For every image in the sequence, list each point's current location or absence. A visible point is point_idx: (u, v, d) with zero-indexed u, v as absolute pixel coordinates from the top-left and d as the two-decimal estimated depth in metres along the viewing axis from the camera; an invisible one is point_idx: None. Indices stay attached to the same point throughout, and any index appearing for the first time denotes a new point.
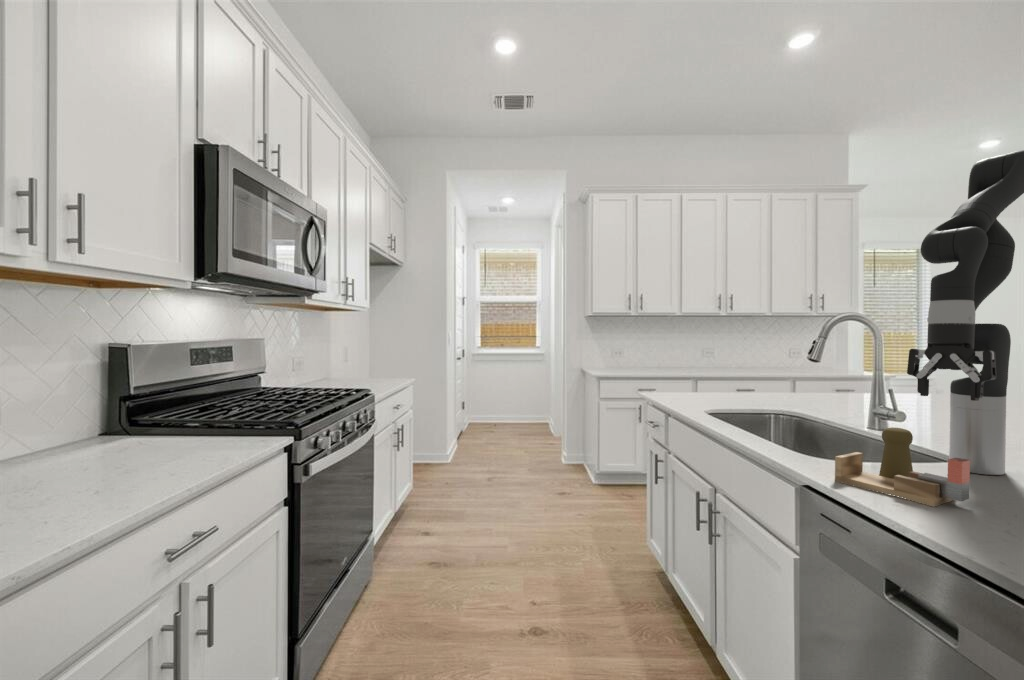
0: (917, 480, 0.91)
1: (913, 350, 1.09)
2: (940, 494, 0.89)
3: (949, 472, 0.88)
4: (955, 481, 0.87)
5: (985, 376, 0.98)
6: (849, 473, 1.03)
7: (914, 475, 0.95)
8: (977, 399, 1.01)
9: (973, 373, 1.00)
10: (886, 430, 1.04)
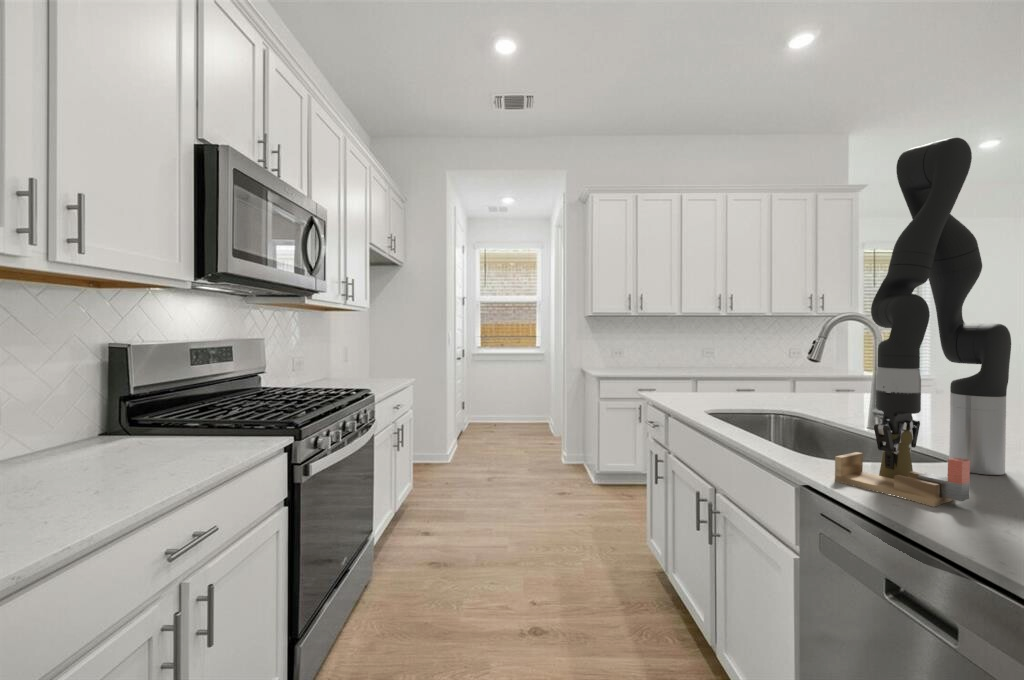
0: (917, 480, 0.91)
1: (889, 427, 1.00)
2: (940, 494, 0.89)
3: (949, 472, 0.88)
4: (955, 481, 0.87)
5: (914, 444, 1.04)
6: (849, 473, 1.03)
7: (914, 475, 0.95)
8: None
9: None
10: None
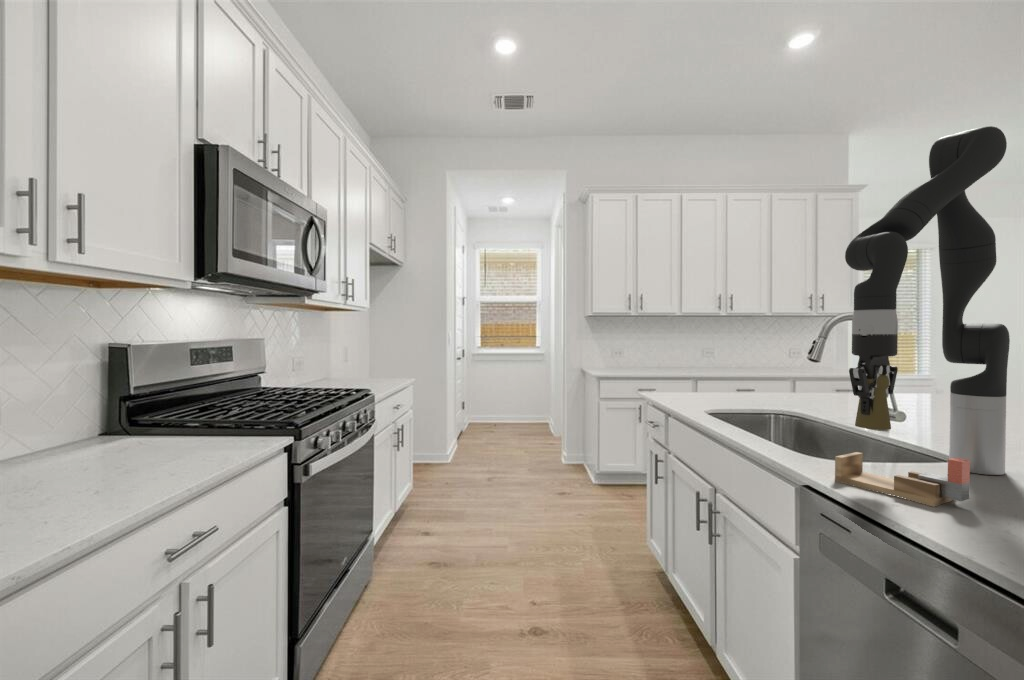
0: (917, 480, 0.91)
1: (864, 370, 0.96)
2: (940, 494, 0.89)
3: (949, 472, 0.88)
4: (955, 481, 0.87)
5: (891, 390, 1.01)
6: (849, 473, 1.03)
7: (914, 475, 0.95)
8: None
9: (887, 388, 1.00)
10: None
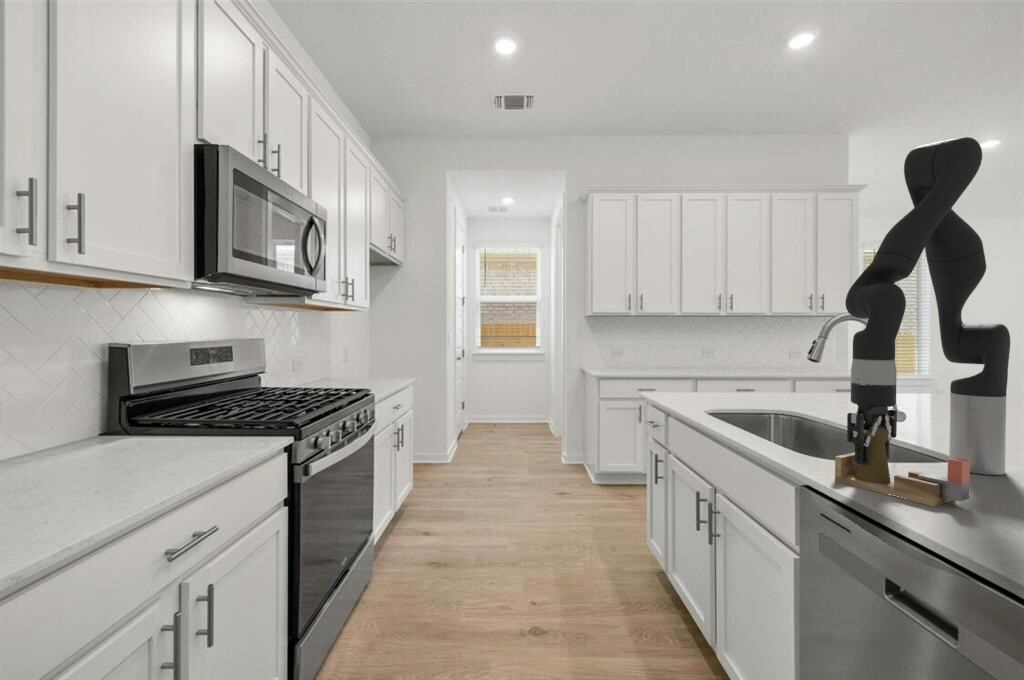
0: (917, 480, 0.91)
1: (862, 416, 0.96)
2: (940, 494, 0.89)
3: (949, 472, 0.88)
4: (955, 481, 0.87)
5: (894, 434, 1.02)
6: (849, 473, 1.03)
7: (914, 475, 0.95)
8: None
9: (889, 433, 1.01)
10: None
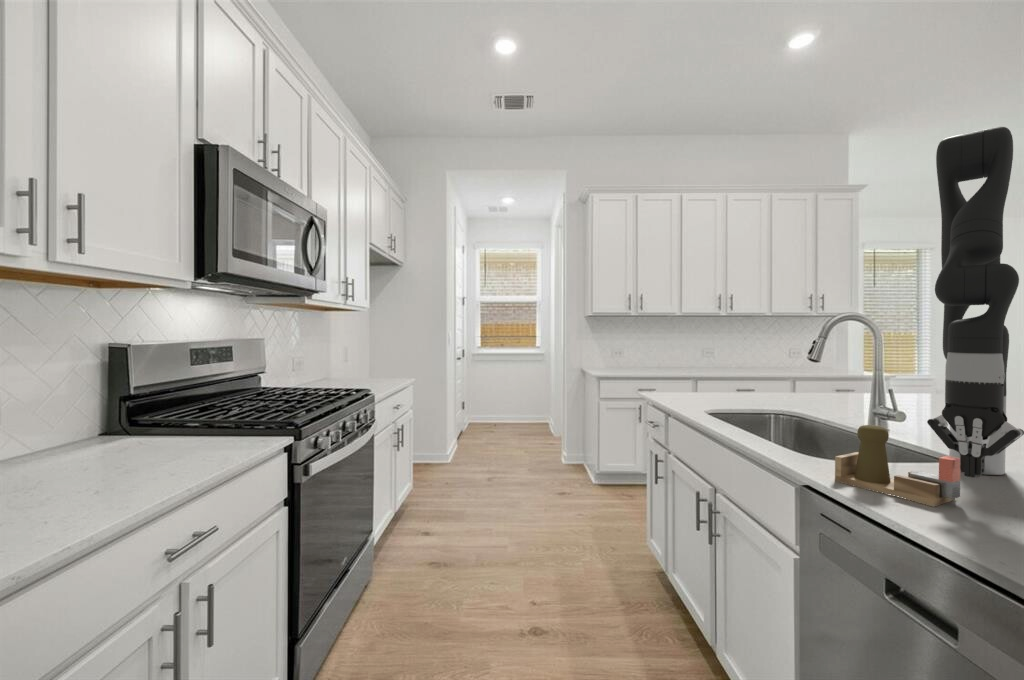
0: (917, 480, 0.91)
1: None
2: None
3: (940, 470, 0.89)
4: (946, 479, 0.88)
5: None
6: (849, 473, 1.03)
7: None
8: None
9: None
10: (862, 428, 1.00)
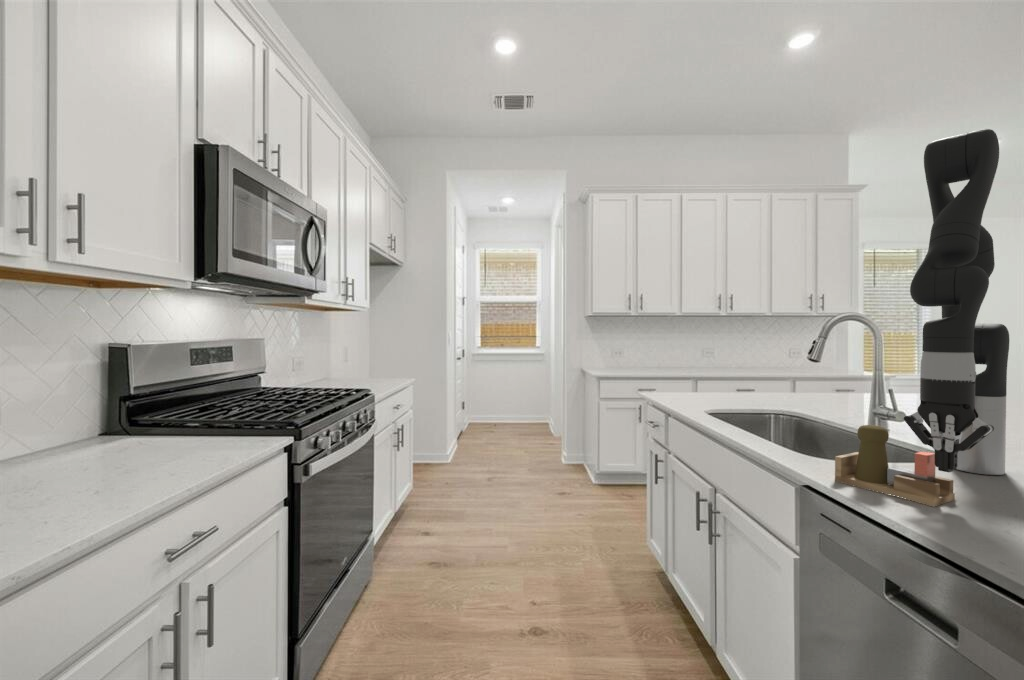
0: (917, 480, 0.91)
1: None
2: None
3: (916, 465, 0.92)
4: (921, 473, 0.91)
5: None
6: (849, 473, 1.03)
7: None
8: None
9: None
10: (862, 428, 1.00)
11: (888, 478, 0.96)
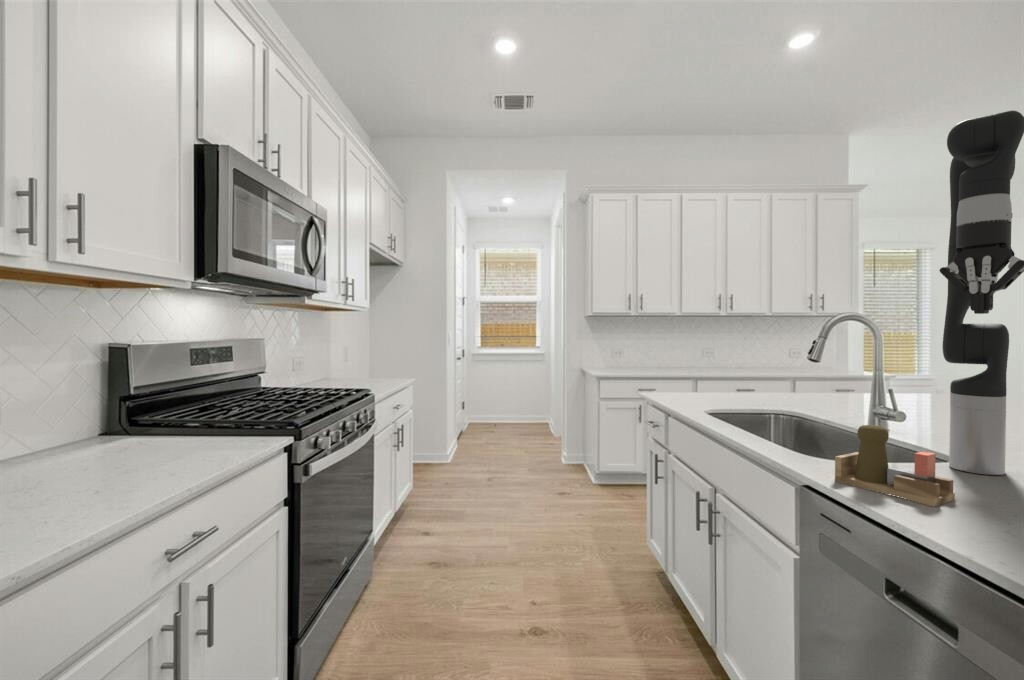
0: (917, 480, 0.91)
1: None
2: None
3: (916, 465, 0.92)
4: (921, 473, 0.91)
5: None
6: (849, 473, 1.03)
7: None
8: None
9: None
10: (862, 428, 1.00)
11: (888, 478, 0.96)
